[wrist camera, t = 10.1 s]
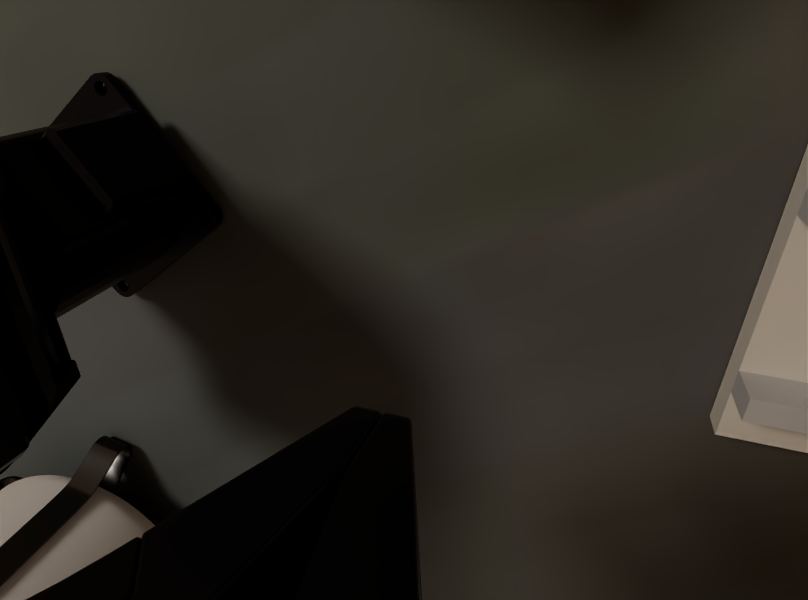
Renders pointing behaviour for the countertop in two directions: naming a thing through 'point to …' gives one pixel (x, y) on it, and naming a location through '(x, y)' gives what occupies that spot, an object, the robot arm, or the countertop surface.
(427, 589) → the countertop surface
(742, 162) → the countertop surface
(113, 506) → the coffee press
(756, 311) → the track
